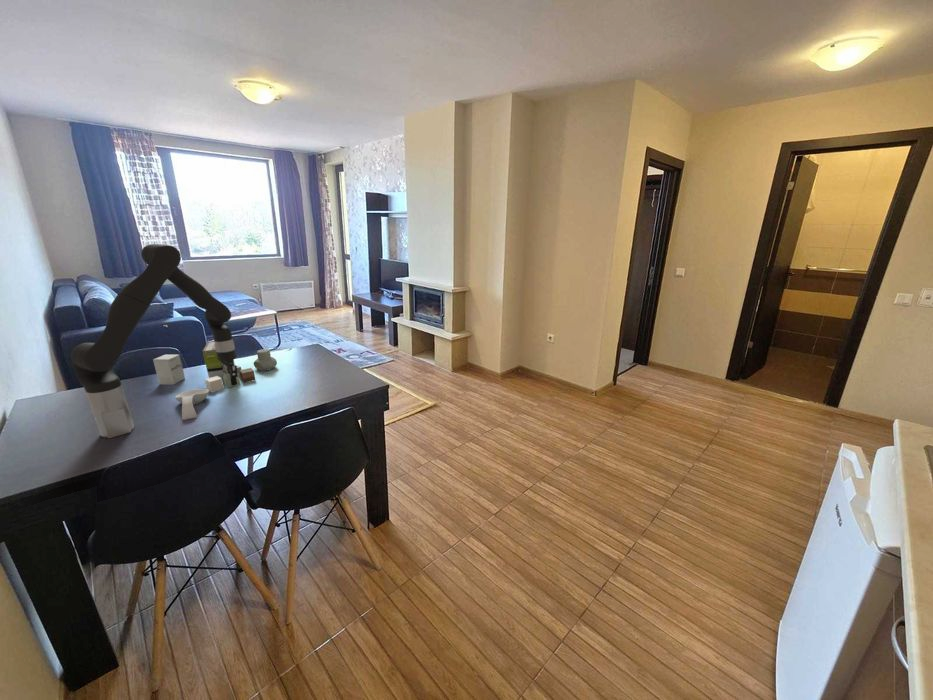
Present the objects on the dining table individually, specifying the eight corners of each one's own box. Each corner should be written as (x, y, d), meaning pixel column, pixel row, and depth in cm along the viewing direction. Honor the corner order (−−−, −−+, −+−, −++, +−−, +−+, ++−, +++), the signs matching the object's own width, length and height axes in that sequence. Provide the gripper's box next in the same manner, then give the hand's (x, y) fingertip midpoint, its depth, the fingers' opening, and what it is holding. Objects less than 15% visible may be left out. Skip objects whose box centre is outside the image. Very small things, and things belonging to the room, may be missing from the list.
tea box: (213, 368, 196) (207, 341, 192) (235, 366, 200) (230, 339, 196) (208, 379, 183) (201, 350, 179) (232, 376, 187) (226, 347, 183)
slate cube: (242, 376, 187) (240, 366, 186) (232, 379, 183) (230, 370, 182) (236, 374, 190) (235, 365, 188) (226, 377, 185) (224, 368, 184)
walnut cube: (255, 380, 183) (253, 370, 181) (244, 382, 180) (242, 373, 178) (252, 377, 186) (250, 367, 185) (241, 379, 183) (239, 370, 181)
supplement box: (174, 384, 176) (167, 359, 172) (158, 384, 177) (152, 359, 173) (185, 378, 183) (179, 354, 179) (170, 378, 184) (164, 354, 180)
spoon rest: (178, 399, 163) (175, 384, 160) (211, 393, 168) (207, 378, 166) (172, 423, 143) (167, 406, 141) (209, 415, 149) (205, 399, 147)
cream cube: (223, 388, 173) (221, 378, 172) (211, 392, 170) (209, 381, 168) (219, 385, 176) (217, 375, 175) (207, 389, 172) (204, 379, 171)
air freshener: (279, 368, 198) (277, 350, 194) (264, 373, 191) (261, 354, 188) (267, 364, 203) (264, 346, 200) (252, 369, 196) (249, 350, 193)
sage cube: (240, 383, 178) (238, 374, 177) (228, 387, 175) (226, 377, 173) (236, 381, 181) (234, 371, 180) (224, 384, 178) (222, 374, 176)
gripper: (240, 350, 171) (246, 385, 176) (228, 344, 179) (235, 377, 185) (221, 354, 165) (229, 390, 171) (210, 347, 174) (218, 381, 180)
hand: (232, 383), depth 178 cm, fingers closed on sage cube, 5 cm apart
